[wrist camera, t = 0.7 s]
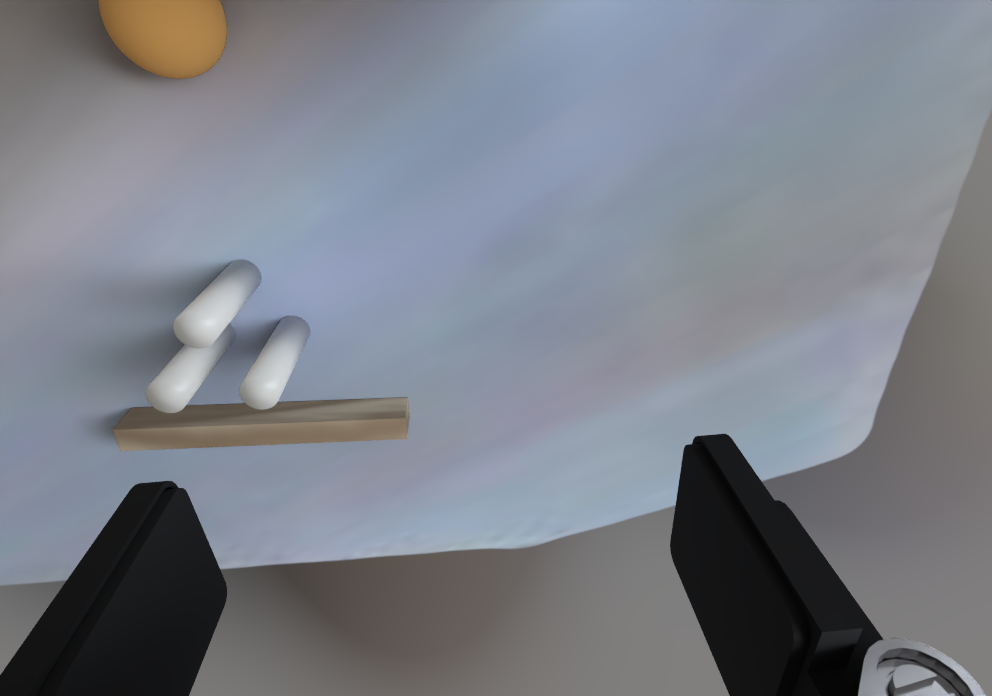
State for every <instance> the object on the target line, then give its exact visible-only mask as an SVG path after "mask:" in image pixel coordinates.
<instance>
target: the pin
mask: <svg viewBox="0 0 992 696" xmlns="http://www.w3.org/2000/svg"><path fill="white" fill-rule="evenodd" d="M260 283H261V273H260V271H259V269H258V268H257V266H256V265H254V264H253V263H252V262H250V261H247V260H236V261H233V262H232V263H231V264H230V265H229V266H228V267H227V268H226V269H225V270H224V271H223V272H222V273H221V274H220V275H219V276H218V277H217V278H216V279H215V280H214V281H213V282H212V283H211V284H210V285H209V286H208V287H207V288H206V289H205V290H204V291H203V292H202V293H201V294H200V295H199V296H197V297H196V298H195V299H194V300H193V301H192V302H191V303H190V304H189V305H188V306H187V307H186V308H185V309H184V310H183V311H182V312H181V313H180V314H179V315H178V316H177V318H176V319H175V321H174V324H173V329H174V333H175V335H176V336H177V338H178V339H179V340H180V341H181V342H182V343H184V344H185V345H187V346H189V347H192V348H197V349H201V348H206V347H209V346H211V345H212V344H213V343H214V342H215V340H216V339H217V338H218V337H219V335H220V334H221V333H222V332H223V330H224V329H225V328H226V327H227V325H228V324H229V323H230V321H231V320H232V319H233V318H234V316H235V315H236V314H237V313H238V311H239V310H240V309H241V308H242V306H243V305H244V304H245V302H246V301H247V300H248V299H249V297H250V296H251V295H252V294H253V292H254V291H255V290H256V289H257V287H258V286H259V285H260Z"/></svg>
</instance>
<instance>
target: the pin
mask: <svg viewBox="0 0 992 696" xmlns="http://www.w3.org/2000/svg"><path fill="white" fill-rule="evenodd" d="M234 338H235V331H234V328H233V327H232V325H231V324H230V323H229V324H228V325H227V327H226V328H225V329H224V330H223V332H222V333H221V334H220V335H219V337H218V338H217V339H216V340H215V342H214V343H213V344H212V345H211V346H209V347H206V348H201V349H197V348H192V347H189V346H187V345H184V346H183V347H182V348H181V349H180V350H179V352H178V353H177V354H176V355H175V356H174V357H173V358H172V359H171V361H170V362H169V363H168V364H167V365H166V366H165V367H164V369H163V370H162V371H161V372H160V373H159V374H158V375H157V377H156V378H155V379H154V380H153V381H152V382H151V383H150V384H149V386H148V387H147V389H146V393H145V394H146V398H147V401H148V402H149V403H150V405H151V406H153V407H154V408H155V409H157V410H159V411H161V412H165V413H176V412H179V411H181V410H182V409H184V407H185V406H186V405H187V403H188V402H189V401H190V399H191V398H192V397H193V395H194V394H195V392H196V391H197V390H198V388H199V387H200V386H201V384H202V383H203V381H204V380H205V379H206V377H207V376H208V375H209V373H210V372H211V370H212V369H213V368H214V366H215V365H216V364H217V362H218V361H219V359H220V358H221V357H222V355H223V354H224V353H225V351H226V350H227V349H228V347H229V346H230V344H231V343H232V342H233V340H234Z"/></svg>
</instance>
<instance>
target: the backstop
mask: <svg viewBox="0 0 992 696" xmlns="http://www.w3.org/2000/svg"><path fill="white" fill-rule="evenodd" d="M408 425H409V407H408V397H403V398H377V399H350V400H323V401H296V402H277V403H276V405H275V406H273V407H271V408H269V409H264V410H260V409H255V408H252V407H250V406H248V405H247V404H246V403H243V404H216V405H190V406H185V407H184V409H182V410H181V411H179V412H176V413H165V412H161V411H159V410H157V409H155V408H154V407H136V408H131V409H130V410H129V411H128V412H127V414H126V415H125V416H124V417H123V418H122V419H121V420H120V422H119V423H118V424H117V425H116V426H115V427H114V428H113V430H112V431H113V434H114V436H115V439H116V441H117V444H118V447H119V449H120V451H134V450H157V449H181V448H204V447H228V446H251V445H275V444H298V443H322V442H346V441H369V440H393V439H407V435H408Z"/></svg>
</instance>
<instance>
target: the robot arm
mask: <svg viewBox="0 0 992 696" xmlns="http://www.w3.org/2000/svg"><path fill="white" fill-rule="evenodd" d="M670 548H671V555H672V559H673V562H674V565H675V567H676V569H677V572H678V574H679V577H680V579H681V581H682V584H683V586H684V588H685V591H686V593H687V596H688V598H689V600H690V602H691V605H692V607H693V610H694V612H695V614H696V617H697V619H698V622H699V624H700V626H701V629H702V631H703V633H704V636H705V638H706V640H707V643H708V645H709V648H710V650H711V652H712V655H713V657H714V659H715V662H716V664H717V667H718V669H719V671H720V673H721V676H722V678H723V681H724V683H725V685H726V688H727V690H728V693H729V695H730V696H986V695H985V693H984V692H983V690H982V688H981V687H980V686H979V684H978V683H977V682H976V681H975V680H974V679H973V678H972V676H971V675H970V674H969V673H968V672H967V671H966V670H965V669H964V668H962V667H961V666H960V665H959V664H957V663H956V662H955V661H954V660H952V659H951V658H950V657H948V656H947V655H945V654H943V653H941V652H939V651H938V650H936V649H934V648H932V647H930V646H928V645H925V644H922V643H919V642H916V641H913V640H909V639H900V638H889V639H884V640H883V638H882V637H881V635H880V634H879V633H878V631H877V630H876V629H875V627H874V626H873V624H872V623H871V621H870V620H869V619H868V617H867V616H866V614H865V613H864V612H863V610H862V609H861V608H860V606H859V605H858V603H857V602H856V601H855V599H854V598H853V596H852V595H851V593H850V592H849V591H848V590H847V588H846V586H845V585H844V584H843V582H842V581H841V580H840V578H839V577H838V575H837V574H836V572H835V571H834V570H833V568H832V567H831V565H830V564H829V563H828V561H827V560H826V558H825V557H824V556H823V554H822V553H821V552H820V550H819V549H818V548H817V546H816V545H815V543H814V542H813V540H812V539H811V538H810V536H809V535H808V533H807V532H806V531H805V529H804V528H803V527H802V525H801V524H800V522H799V521H798V519H797V518H796V516H795V515H794V514H793V512H792V511H791V510H790V509H789V508H788V507H787V505H786V504H785V503H783V502H781V501H775V500H774V499H773V498H772V496H771V495H770V493H769V492H768V490H767V489H766V487H765V486H764V485H763V483H762V482H761V480H760V479H759V477H758V476H757V475H756V473H755V472H754V470H753V469H752V467H751V466H750V464H749V463H748V462H747V460H746V459H745V457H744V456H743V454H742V453H741V451H740V450H739V449H738V447H737V446H736V444H735V443H734V441H733V440H732V439H731V437H730V436H729V435H727V434H717V435H705V436H697V437H695V438H694V440H693V443H692V444H690V445H686V446H685V448H684V452H683V459H682V466H681V473H680V480H679V487H678V493H677V500H676V507H675V514H674V521H673V528H672V535H671V542H670ZM226 597H227V587H226V582H225V580H224V578H223V575H222V573H221V570H220V568H219V566H218V563H217V561H216V559H215V556H214V554H213V552H212V549H211V547H210V545H209V542H208V540H207V538H206V535H205V533H204V531H203V528H202V526H201V524H200V521H199V519H198V517H197V514H196V512H195V510H194V507H193V505H192V503H191V500H190V498H189V496H188V493H187V492H186V490H185V489H183V488H178V487H177V485H176V484H175V483H174V482H173V481H163V482H151V483H139V484H137V485H135V486H134V487H133V488H132V489H131V490H130V491H129V493H128V494H127V495H126V497H125V498H124V500H123V501H122V503H121V504H120V505H119V507H118V508H117V510H116V511H115V513H114V514H113V515H112V517H111V518H110V520H109V521H108V523H107V524H106V525H105V527H104V528H103V530H102V531H101V533H100V534H99V535H98V537H97V538H96V540H95V541H94V542H93V544H92V545H91V547H90V548H89V550H88V551H87V552H86V554H85V555H84V557H83V558H82V560H81V561H80V562H79V564H78V565H77V567H76V568H75V570H74V571H73V572H72V574H71V575H70V577H69V578H68V580H67V581H66V582H65V584H64V585H63V587H62V588H61V590H60V591H59V593H58V594H57V595H56V597H55V598H54V600H53V601H52V602H51V604H50V605H49V607H48V608H47V609H46V611H45V612H44V614H43V615H42V617H41V618H40V620H39V621H38V622H37V624H36V625H35V627H34V628H33V629H32V631H31V632H30V634H29V635H28V637H27V638H26V639H25V641H24V642H23V644H22V645H21V647H20V648H19V650H18V651H17V652H16V654H15V655H14V657H13V658H12V659H11V661H10V662H9V664H8V665H7V666H6V668H5V669H4V671H3V672H2V674H1V675H0V696H189V694H190V692H191V689H192V686H193V684H194V682H195V679H196V676H197V674H198V671H199V669H200V666H201V664H202V661H203V659H204V656H205V654H206V651H207V649H208V646H209V644H210V641H211V638H212V636H213V633H214V631H215V628H216V626H217V623H218V621H219V618H220V615H221V613H222V611H223V608H224V606H225V602H226Z"/></svg>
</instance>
